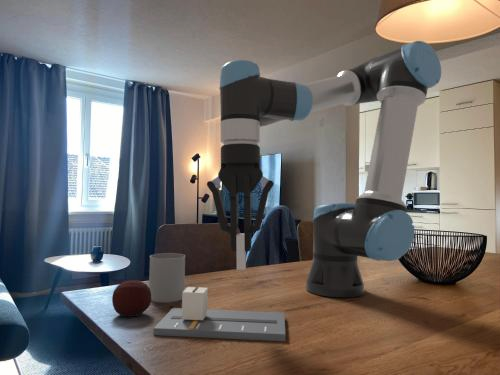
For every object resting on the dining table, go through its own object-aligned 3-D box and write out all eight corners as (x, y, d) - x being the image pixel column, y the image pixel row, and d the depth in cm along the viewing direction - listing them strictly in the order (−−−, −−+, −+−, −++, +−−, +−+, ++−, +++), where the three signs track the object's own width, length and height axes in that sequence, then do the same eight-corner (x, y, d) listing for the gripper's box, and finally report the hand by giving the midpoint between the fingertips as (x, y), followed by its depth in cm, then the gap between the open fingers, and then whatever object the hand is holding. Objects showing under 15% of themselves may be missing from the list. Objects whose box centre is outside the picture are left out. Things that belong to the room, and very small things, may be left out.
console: (284, 318, 75) (284, 312, 75) (285, 341, 63) (285, 333, 63) (172, 313, 76) (173, 307, 76) (153, 335, 64) (153, 327, 64)
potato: (117, 309, 78) (118, 276, 78) (154, 309, 79) (155, 276, 79) (106, 321, 71) (107, 284, 71) (147, 321, 71) (148, 284, 72)
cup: (175, 303, 84) (176, 259, 84) (142, 300, 85) (143, 257, 86) (189, 294, 92) (189, 254, 92) (158, 292, 93) (159, 252, 94)
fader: (207, 313, 72) (207, 286, 72) (203, 320, 68) (203, 291, 68) (186, 312, 72) (187, 285, 72) (181, 319, 68) (182, 291, 68)
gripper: (274, 146, 73) (275, 264, 73) (210, 147, 74) (210, 264, 74) (274, 141, 66) (275, 272, 66) (202, 142, 67) (203, 272, 67)
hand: (241, 268), depth 70 cm, fingers closed
